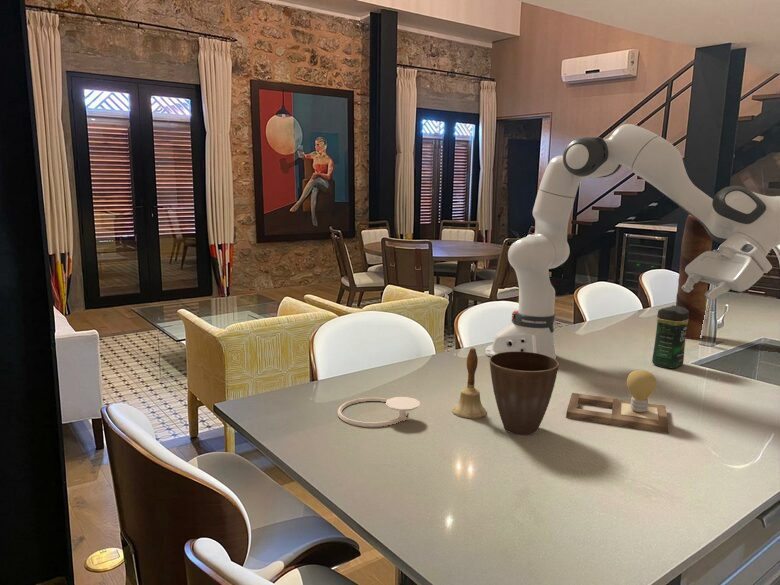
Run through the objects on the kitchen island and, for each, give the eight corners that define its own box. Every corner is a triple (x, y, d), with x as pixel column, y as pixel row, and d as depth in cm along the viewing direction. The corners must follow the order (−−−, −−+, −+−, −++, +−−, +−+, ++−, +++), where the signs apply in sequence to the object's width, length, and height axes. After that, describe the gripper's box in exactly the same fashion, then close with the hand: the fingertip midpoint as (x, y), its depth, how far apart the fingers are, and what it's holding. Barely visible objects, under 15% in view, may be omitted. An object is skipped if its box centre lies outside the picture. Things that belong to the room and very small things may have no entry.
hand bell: (489, 408, 142) (492, 345, 139) (483, 420, 135) (486, 354, 132) (456, 403, 145) (458, 342, 142) (448, 415, 137) (450, 351, 134)
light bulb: (619, 405, 140) (623, 366, 138) (645, 405, 141) (648, 366, 139) (632, 416, 134) (636, 374, 132) (658, 415, 134) (662, 374, 133)
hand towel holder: (360, 381, 149) (433, 394, 139) (359, 397, 149) (433, 412, 140) (323, 401, 134) (402, 418, 125) (323, 419, 135) (402, 437, 125)
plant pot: (515, 448, 120) (519, 375, 118) (473, 422, 133) (476, 355, 131) (568, 435, 127) (573, 365, 124) (523, 411, 140) (527, 348, 137)
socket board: (566, 417, 137) (566, 410, 137) (571, 398, 150) (572, 391, 149) (668, 433, 129) (669, 426, 129) (664, 411, 142) (665, 404, 141)
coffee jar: (674, 371, 174) (681, 310, 170) (648, 364, 179) (654, 306, 176) (687, 364, 180) (693, 306, 177) (661, 359, 186) (667, 302, 182)
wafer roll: (670, 337, 214) (683, 214, 206) (673, 331, 223) (686, 213, 215) (702, 341, 208) (716, 215, 200) (704, 335, 217) (718, 214, 209)
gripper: (704, 240, 148) (664, 278, 149) (761, 249, 128) (714, 292, 128) (719, 257, 149) (679, 295, 150) (778, 269, 129) (731, 312, 130)
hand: (695, 294), depth 139 cm, fingers open, 8 cm apart
